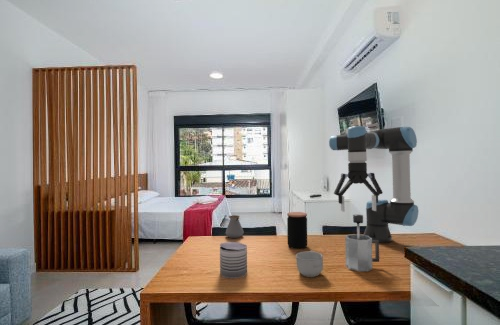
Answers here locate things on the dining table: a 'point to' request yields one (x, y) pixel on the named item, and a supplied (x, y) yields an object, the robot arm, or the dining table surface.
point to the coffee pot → (234, 227)
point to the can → (233, 260)
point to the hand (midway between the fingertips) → (358, 210)
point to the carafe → (360, 252)
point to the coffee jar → (297, 230)
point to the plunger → (358, 220)
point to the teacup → (309, 263)
